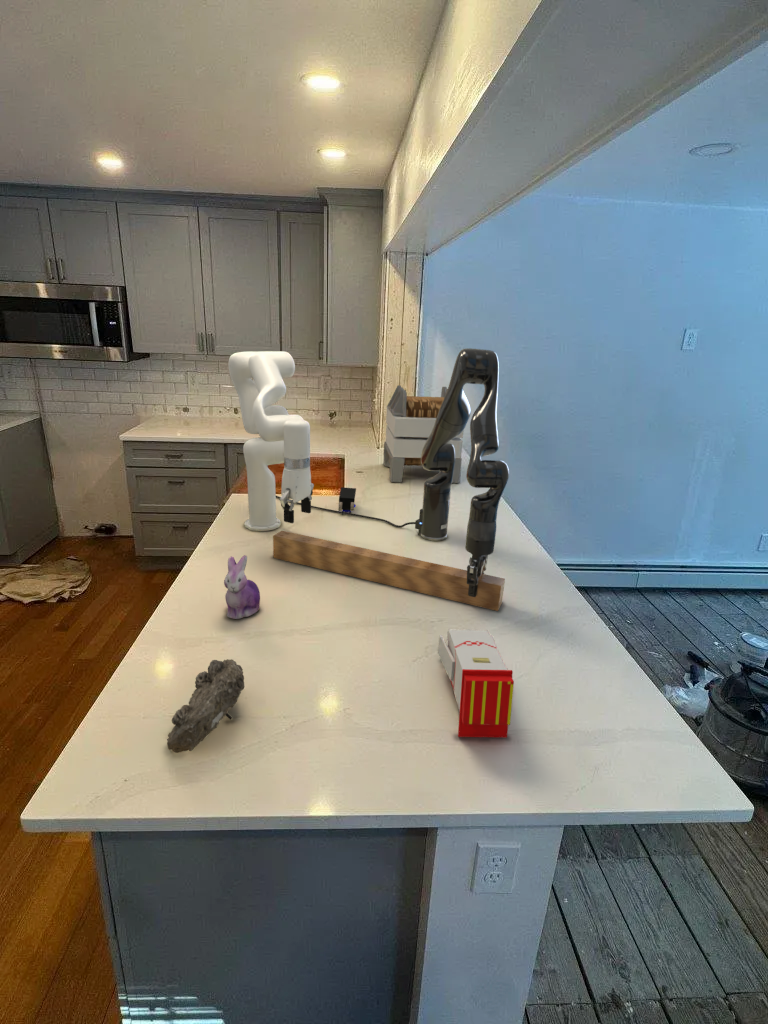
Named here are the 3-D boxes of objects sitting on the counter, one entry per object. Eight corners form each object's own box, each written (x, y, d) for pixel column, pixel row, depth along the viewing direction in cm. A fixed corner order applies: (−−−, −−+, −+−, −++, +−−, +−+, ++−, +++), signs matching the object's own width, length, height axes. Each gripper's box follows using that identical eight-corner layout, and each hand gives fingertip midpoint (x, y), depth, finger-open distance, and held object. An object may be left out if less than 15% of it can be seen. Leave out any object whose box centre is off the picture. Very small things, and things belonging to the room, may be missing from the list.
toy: (488, 613, 130) (523, 677, 101) (484, 667, 133) (517, 744, 104) (435, 612, 130) (455, 676, 101) (432, 666, 133) (451, 743, 103)
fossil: (192, 660, 117) (244, 628, 112) (224, 691, 120) (276, 661, 115) (142, 746, 98) (202, 712, 93) (182, 779, 101) (242, 748, 96)
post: (501, 603, 155) (505, 578, 153) (498, 611, 151) (501, 586, 149) (282, 552, 181) (281, 530, 178) (273, 557, 177) (272, 535, 174)
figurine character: (355, 520, 214) (356, 503, 227) (355, 502, 211) (356, 486, 224) (337, 519, 214) (339, 502, 227) (337, 501, 210) (339, 485, 224)
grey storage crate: (382, 463, 289) (386, 382, 275) (445, 464, 293) (451, 384, 279) (390, 482, 257) (394, 392, 243) (460, 483, 261) (468, 394, 247)
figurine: (229, 624, 139) (226, 568, 134) (220, 605, 148) (216, 552, 142) (266, 616, 143) (265, 562, 138) (255, 598, 152) (254, 546, 147)
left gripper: (301, 454, 174) (301, 506, 180) (269, 467, 159) (270, 524, 165) (322, 457, 172) (322, 511, 178) (292, 471, 157) (293, 528, 163)
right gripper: (474, 523, 157) (468, 578, 163) (459, 540, 144) (454, 599, 150) (501, 528, 154) (494, 584, 160) (488, 546, 142) (481, 606, 147)
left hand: (297, 517), depth 171 cm, fingers open, 9 cm apart
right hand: (474, 591), depth 155 cm, fingers closed on post, 5 cm apart
